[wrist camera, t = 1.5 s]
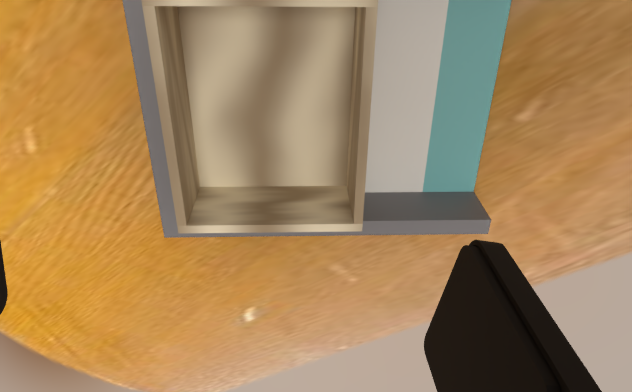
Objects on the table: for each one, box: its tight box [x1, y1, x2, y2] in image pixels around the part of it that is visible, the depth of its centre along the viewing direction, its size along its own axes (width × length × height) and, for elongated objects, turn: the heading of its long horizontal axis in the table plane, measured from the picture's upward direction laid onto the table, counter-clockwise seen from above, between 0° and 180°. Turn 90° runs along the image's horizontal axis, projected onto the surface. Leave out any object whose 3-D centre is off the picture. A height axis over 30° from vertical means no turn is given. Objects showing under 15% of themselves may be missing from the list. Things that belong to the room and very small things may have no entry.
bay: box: [123, 0, 511, 237], centre depth 33 cm, size 23×18×5 cm
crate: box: [141, 0, 378, 233], centre depth 31 cm, size 12×15×6 cm
